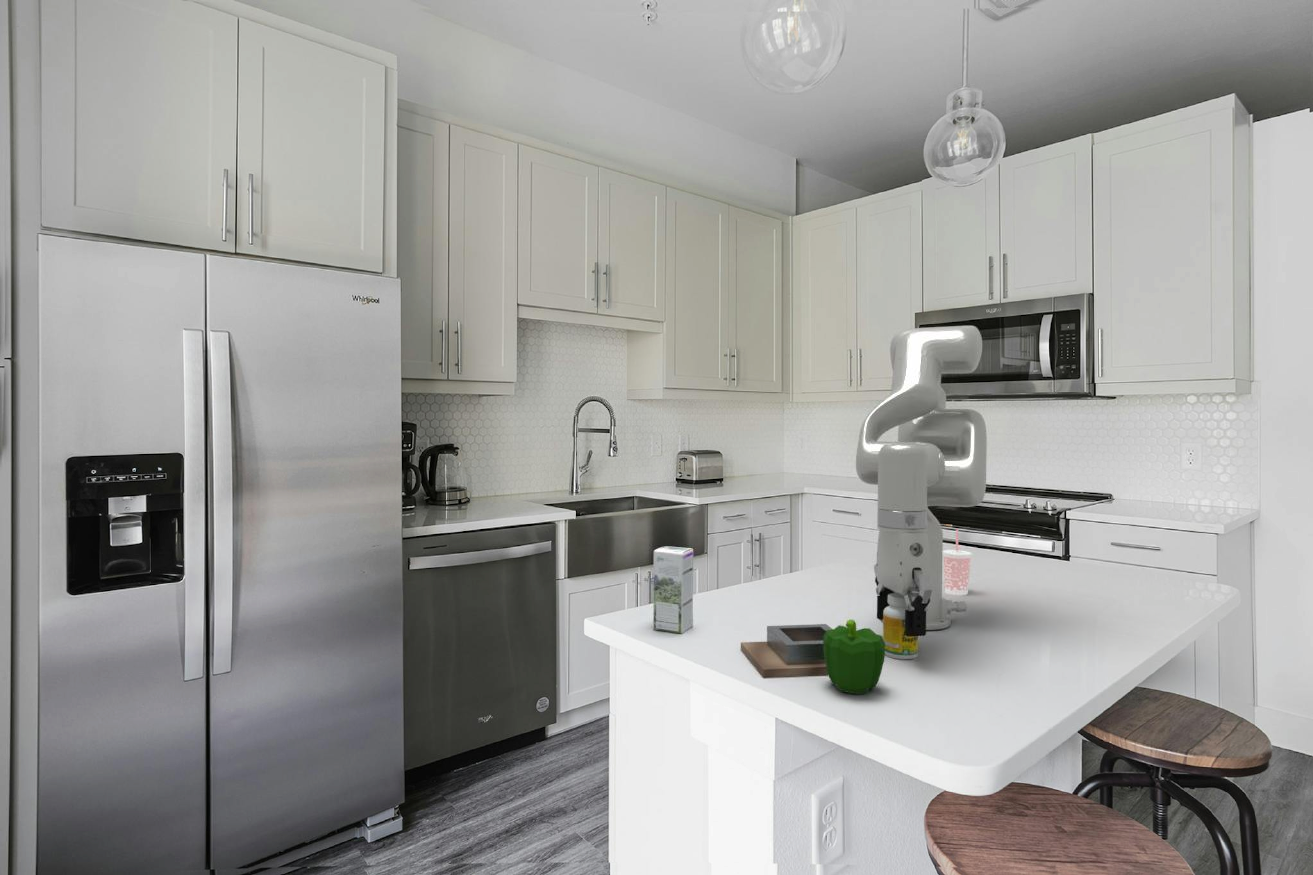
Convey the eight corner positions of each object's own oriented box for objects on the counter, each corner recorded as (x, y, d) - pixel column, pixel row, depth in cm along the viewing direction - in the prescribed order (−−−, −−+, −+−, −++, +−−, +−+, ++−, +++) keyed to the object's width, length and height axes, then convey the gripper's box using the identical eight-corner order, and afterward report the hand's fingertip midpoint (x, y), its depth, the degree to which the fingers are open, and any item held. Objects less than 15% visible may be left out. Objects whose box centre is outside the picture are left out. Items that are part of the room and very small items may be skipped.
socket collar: (825, 642, 117) (825, 623, 117) (850, 662, 107) (850, 642, 107) (767, 644, 116) (767, 626, 116) (786, 664, 106) (786, 644, 106)
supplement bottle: (897, 647, 119) (897, 590, 118) (925, 656, 114) (925, 596, 114) (875, 653, 116) (876, 594, 115) (903, 662, 111) (904, 601, 111)
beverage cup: (935, 590, 160) (936, 528, 160) (959, 588, 162) (960, 527, 161) (953, 596, 154) (954, 532, 154) (977, 595, 156) (978, 531, 156)
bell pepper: (844, 672, 106) (845, 606, 106) (894, 688, 100) (895, 617, 100) (809, 686, 101) (810, 616, 100) (860, 703, 94) (861, 629, 94)
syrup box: (693, 626, 130) (694, 547, 130) (681, 634, 125) (681, 552, 125) (665, 622, 133) (666, 544, 133) (652, 630, 127) (652, 549, 127)
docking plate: (845, 645, 119) (845, 638, 119) (880, 672, 106) (880, 664, 106) (740, 649, 117) (740, 642, 117) (763, 677, 104) (763, 669, 104)
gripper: (953, 527, 106) (951, 642, 106) (898, 514, 123) (896, 612, 124) (906, 528, 105) (904, 643, 105) (857, 514, 122) (855, 614, 123)
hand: (900, 627), depth 115 cm, fingers open, 9 cm apart
